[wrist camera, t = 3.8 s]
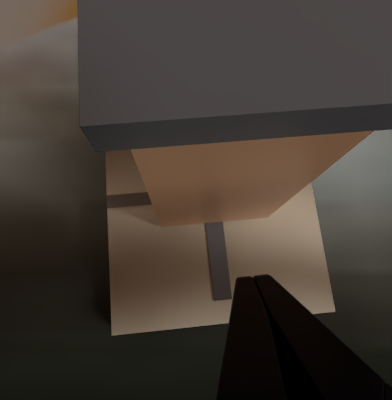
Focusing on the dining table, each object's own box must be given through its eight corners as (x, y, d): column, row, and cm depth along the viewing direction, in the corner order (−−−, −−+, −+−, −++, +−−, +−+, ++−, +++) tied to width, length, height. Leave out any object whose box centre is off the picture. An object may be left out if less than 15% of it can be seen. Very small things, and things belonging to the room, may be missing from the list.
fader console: (322, 309, 17) (336, 311, 15) (118, 331, 16) (111, 335, 15) (273, 33, 21) (280, 13, 19) (106, 44, 20) (100, 23, 19)
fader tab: (278, 222, 16) (468, 97, 5) (150, 234, 16) (79, 126, 5) (267, 151, 17) (411, -79, 6) (146, 161, 17) (76, -65, 6)
